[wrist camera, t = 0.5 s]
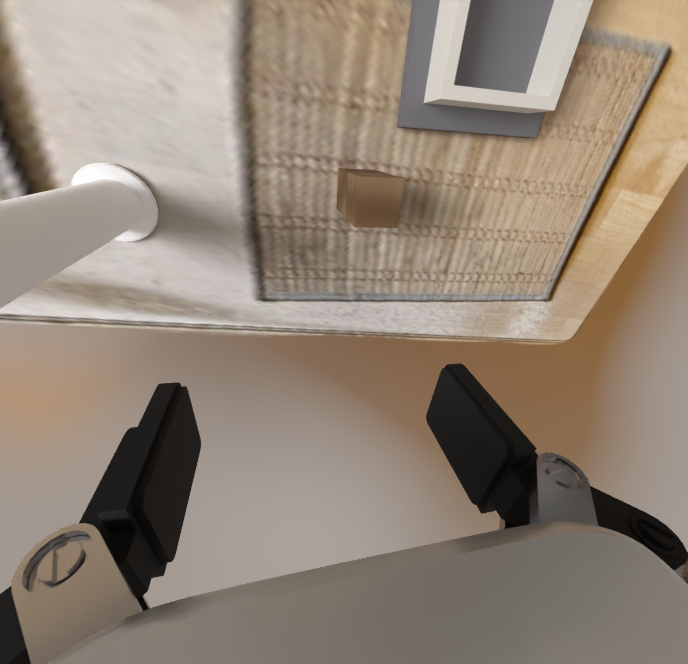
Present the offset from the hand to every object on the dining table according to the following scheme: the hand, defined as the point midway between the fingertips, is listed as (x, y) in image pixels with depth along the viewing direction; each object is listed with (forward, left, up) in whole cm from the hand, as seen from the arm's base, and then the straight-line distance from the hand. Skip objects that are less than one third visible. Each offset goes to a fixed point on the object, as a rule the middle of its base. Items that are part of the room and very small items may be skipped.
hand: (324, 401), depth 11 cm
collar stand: (-18, +19, -27) cm, 38 cm away
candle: (-2, -17, -28) cm, 32 cm away
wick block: (-4, +7, -27) cm, 29 cm away
